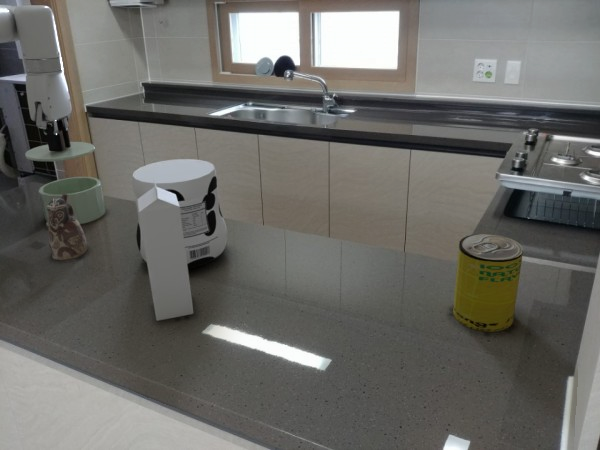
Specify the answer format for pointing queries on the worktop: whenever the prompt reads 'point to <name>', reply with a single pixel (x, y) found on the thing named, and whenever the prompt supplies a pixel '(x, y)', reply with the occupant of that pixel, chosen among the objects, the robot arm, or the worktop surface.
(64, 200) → the figurine
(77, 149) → the bowl lid
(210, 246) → the milk container
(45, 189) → the bowl
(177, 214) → the milk
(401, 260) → the worktop surface
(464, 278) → the beverage can
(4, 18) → the robot arm
